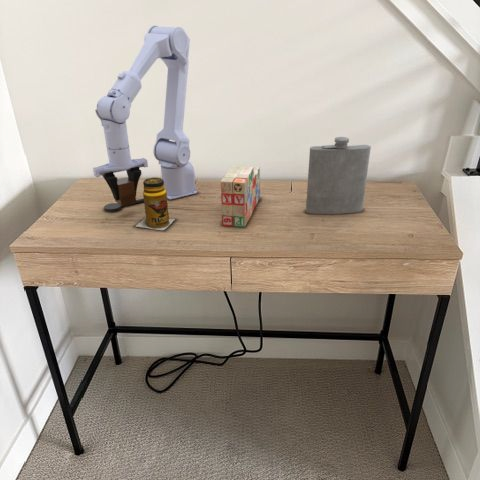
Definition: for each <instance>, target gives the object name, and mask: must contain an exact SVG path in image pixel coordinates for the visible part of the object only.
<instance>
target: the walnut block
mask: <svg viewBox="0 0 480 480" xmlns="http://www.w3.org/2000/svg"><path fill="white" fill-rule="evenodd" d="M117 188H118V194H119V200H118V201H117V200H115V199H114V201H115V202H114V203H118V204H119V205H120V206H124V207H127V206H126V205H128V206H131V205H130V204H133V205H135V204H134V203H136V200H137V195H136V196H135V188H134V182H133V181H132V180H130V179H129V178H128V176H126V177H121V178H117Z"/></svg>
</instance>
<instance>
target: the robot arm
mask: <svg viewBox="0 0 480 480" xmlns="http://www.w3.org/2000/svg"><path fill="white" fill-rule="evenodd" d="M190 42H191V39H190V37H189V36H188V33H187V32H186V31H185V29H184V28H183V27H180V26H176V27H173V26H159V25H152V26H151V27H149V29H147V33H146V34H144V36H143V45H142V46H141V48H140V50H139V52H138V54H137V56H136V57H135V59H134V61H133V63H132V64H131V67H130V68H129V70H126V71H122V72H120V73H118V74H117V77H116V78H117V79H116V80H115V82H114V84H113V85H112V87H111V88H110V89H108V92H107V94H106V95H104V96H102V97H100V98H99V100H98V101H97V103H96V109H95V114H96V117H97V118H98V119H99V121H100V123H101V126H102V128H103V133H104V141H105V145H106V153H107V158H108V162H107V163H104V164H102V165H99V166H96V167H92V172H93V173H92V174H93V176H94V177H96V178H100V177H103V179H104V181H105V182H106V184H107V186H108V188H109V189H110V191H111V193H112V196H113V199H114V201H115V200H117V201H118V200H119V194H118V188H117V179H118V177H117V176H116V175H115V174H116V173H120V172H125V171H126V175H127V177H128V178H129V179H130V180H132V181H133V182H134V188H135V196H136V197H137V191H138V184H139V181H140V179H141V177H142V170H141V169H140V168H148V167H149V164H148V159H146V158H145V157H142V158H141V157H140V158H133V159H132V157H131V149H130V142H129V134H128V127H127V120H128V119H129V118H130V113H131V107H132V103H133V102H134V100H135V98H136V97H137V96H138V95H139V92H140V91H141V90H142V79H143V78H144V77H145V76H146V74H147V73H148V72H149V70H151V68H152V66H153V65H154V64H155V63H156V61H157V60H158V59H160V60H161V61H162V62H163V63H164V64H165V66H166V68H167V76H166V79H167V80H166V89H165V101H164V102H165V103H164V117H163V128H162V129H161V130H160V131H159V132H158V133H156V139H155V142H154V144H153V150H152V152H153V156H154V158H155V159H156V161H158V165H160V174H161V179H163V181H164V186H165V190H166V193H167V200H169V201H170V200H175V199H179V198H183V197H187V196H188V197H189V196H191V195H195V194H198V191H197V188H196V187H197V186H196V173H195V168H194V166H193V164H192V162H190V158H191V149H190V148H191V147H190V138H189V137H188V136H187V134H186V133H185V132H184V130H183V129H184V117H185V109H186V97H187V96H186V95H187V86H188V85H187V84H188V74H189V56H190V55H189V53H190Z"/></svg>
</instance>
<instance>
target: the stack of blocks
mask: <svg viewBox="0 0 480 480" xmlns="http://www.w3.org/2000/svg"><path fill="white" fill-rule="evenodd" d="M260 169H261V167H260V166H245V165H244V166H243V165H231V166H230V167H229V169H228V171H227V172H226V174H225V175H224V177H222V179H221V180H220V192H221V193H220V199H221V200H220V201H221V202H220V203H221V225H222V226H223V227H237V228H246V225H247V223H249V220H250V219H251V217H252V214H253V212H254V209H255V207H256V206H257V204H258V202H259V201H260V198H261V177H260V176H261V173H260V172H261V170H260Z"/></svg>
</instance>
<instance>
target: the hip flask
mask: <svg viewBox="0 0 480 480" xmlns="http://www.w3.org/2000/svg"><path fill="white" fill-rule="evenodd" d="M349 141H350V138H349V137H346V136H337V137H334V144H327V145H326V144H325V145H321V146H319V145H314V146H310V147H309V158H308V173H307V185H306V186H307V187H306V188H307V190H306V201H305V202H306V203H305V212H306V213H307V214H310V215H311V214H312V215H341V214H353V213H360V212H363V207H364V201H365V193H366V187H367V186H366V185H367V179H368V177H367V176H368V171H369V164H370V155H371V149H372V147H371V146H370V145H368V144H357V145H348V143H350V142H349Z"/></svg>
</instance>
